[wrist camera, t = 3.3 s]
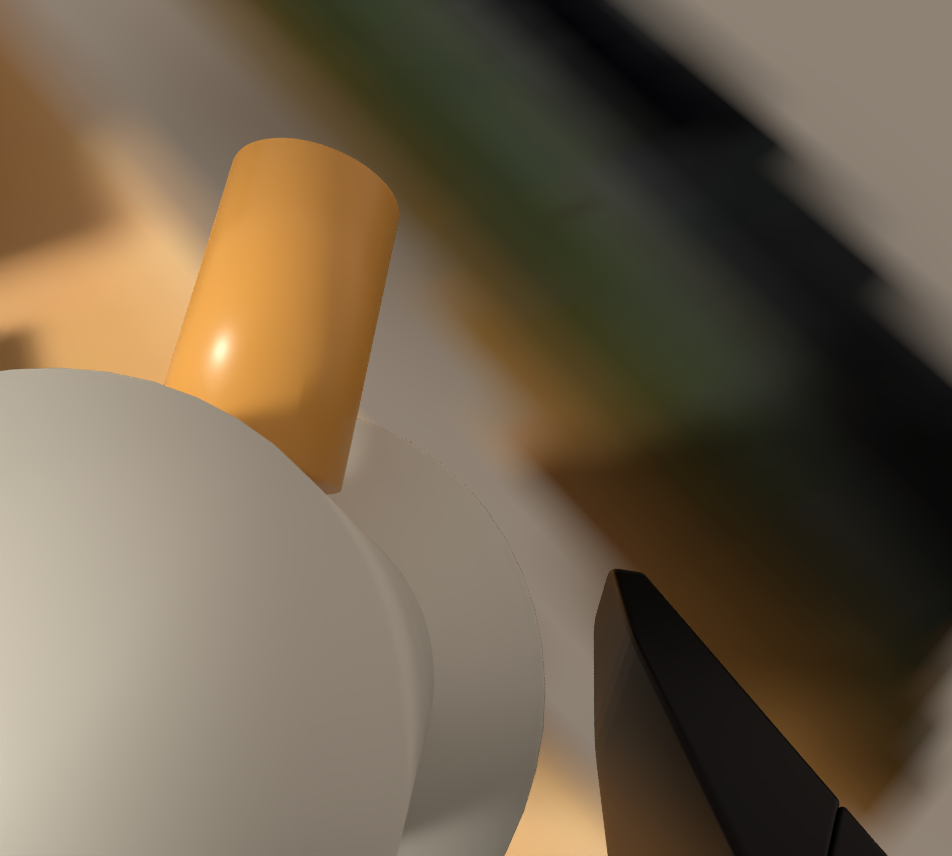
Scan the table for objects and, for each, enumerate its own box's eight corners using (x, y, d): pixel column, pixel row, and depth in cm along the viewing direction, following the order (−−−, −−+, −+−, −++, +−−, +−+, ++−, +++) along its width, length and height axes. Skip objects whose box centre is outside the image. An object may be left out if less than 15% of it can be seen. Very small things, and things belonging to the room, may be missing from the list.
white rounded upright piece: (472, 794, 14) (607, 2068, 2) (229, 755, 14) (-1371, 1714, 2) (513, 488, 15) (712, 37, 4) (299, 456, 16) (-218, -95, 4)
